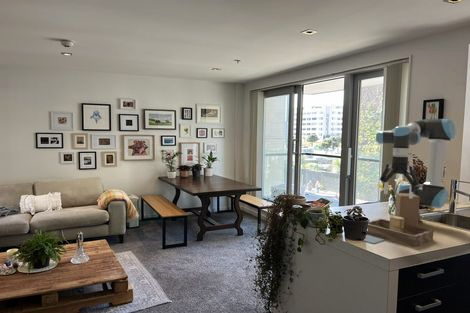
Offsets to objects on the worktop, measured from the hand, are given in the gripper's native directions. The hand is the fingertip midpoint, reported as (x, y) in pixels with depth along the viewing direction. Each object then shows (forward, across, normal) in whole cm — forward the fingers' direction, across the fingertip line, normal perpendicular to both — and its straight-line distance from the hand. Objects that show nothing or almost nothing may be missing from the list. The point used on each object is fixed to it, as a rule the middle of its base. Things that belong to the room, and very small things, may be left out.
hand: (398, 196), depth 179 cm
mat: (+22, -4, -18) cm, 28 cm away
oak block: (+22, 0, 0) cm, 22 cm away
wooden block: (+22, -4, +18) cm, 29 cm away
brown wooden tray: (+22, 0, 0) cm, 22 cm away
